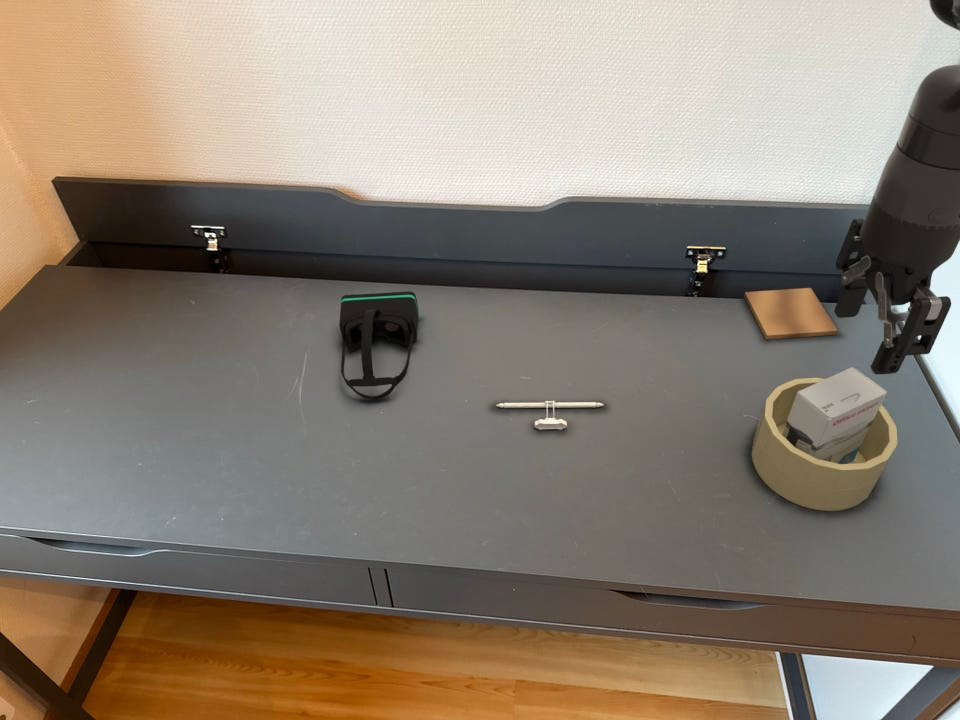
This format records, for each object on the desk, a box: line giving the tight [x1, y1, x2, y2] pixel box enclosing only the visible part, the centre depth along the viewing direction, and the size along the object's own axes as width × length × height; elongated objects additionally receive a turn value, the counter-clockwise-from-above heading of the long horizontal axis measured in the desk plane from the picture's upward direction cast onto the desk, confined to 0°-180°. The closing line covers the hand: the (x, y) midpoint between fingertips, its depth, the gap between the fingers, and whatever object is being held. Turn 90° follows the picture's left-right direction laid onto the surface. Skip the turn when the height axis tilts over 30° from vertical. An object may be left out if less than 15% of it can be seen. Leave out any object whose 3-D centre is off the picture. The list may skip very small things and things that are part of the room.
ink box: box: [782, 366, 888, 464], centre depth 79 cm, size 8×5×12 cm, turn 116°
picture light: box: [495, 399, 604, 431], centre depth 90 cm, size 14×4×2 cm, turn 88°
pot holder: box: [743, 287, 839, 340], centre depth 103 cm, size 10×10×1 cm
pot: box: [751, 377, 899, 512], centre depth 81 cm, size 14×14×8 cm
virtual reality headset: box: [338, 290, 420, 401], centre depth 97 cm, size 11×17×10 cm, turn 2°
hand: (862, 342), depth 70 cm, fingers open, 8 cm apart
